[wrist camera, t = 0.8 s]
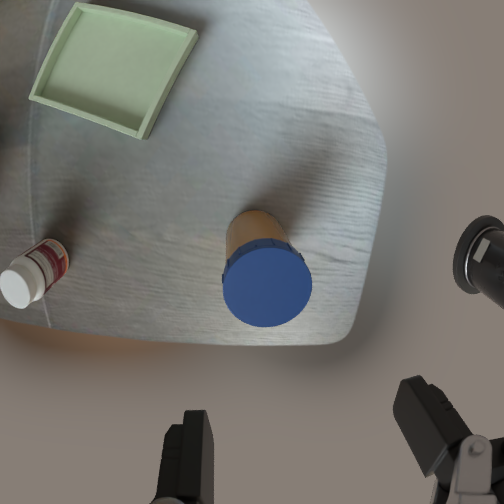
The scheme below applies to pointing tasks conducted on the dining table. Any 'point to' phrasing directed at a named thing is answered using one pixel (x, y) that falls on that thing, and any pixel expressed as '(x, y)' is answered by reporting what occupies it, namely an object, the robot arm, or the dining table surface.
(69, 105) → the tray
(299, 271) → the lid
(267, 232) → the jar
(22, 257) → the pill bottle
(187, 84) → the dining table surface
